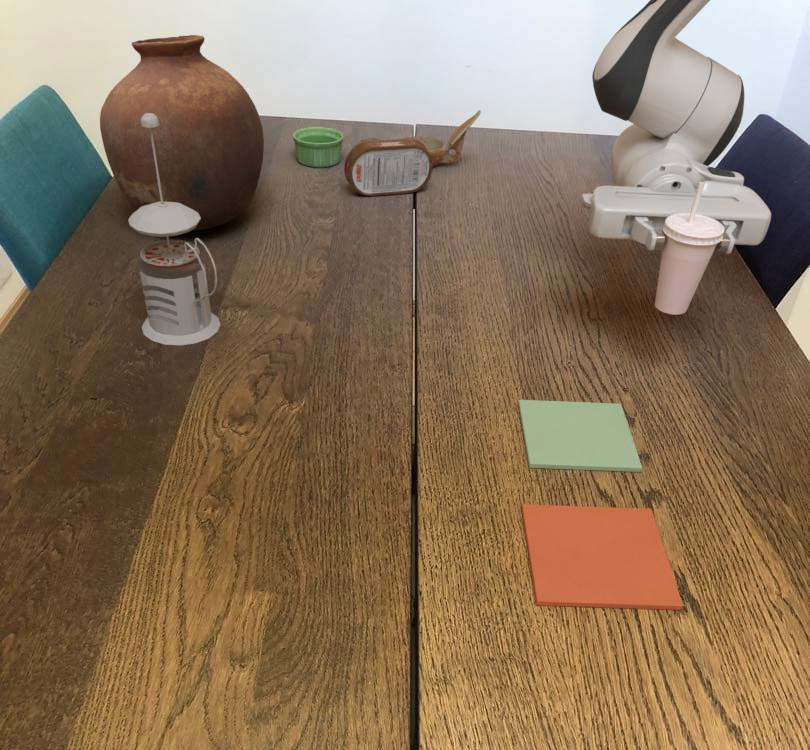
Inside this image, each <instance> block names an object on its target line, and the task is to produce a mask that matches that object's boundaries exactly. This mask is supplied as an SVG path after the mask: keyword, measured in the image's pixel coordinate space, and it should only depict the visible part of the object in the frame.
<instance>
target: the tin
mask: <svg viewBox="0 0 810 750" xmlns="http://www.w3.org/2000/svg"><path fill="white" fill-rule="evenodd" d="M343 165H344V167H343V171H344V176H345V179H346V181H347V182H348V184H349V185H350V186H351V188H352V189H353V190H355V192H357V193H358V194H360V195H362V196H366V197H377V196H390V195H404V194H414V193H417V192H418V191H420V190H422V189H423V188H424V187H425V186H426V185H427V184H428V182H429V181H430V180H431V177H432V174H433V169H434V166H433V161H432V157H431V155H430V153H429V152H428V150H427V148H426V147H425V145H424V144H423V143H421V142H420V141H418V140H416V139H403V138H394V139H384V140H368V141H363V142H359V143H357V144H356V145H354V146H353V147H352V148H351V150H349V152H348V153H347V156H346V157H345V160H344V164H343Z"/></svg>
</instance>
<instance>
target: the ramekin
mask: <svg viewBox="0 0 810 750" xmlns="http://www.w3.org/2000/svg"><path fill="white" fill-rule="evenodd" d="M292 139H293V141H294V148H295V156H296V160H297V161H298V163H300V165H303V166H306V167H309V168H318V169H319V168H330V167H334V166H336V165H338V164H339V163H340V162H341V159H342V146H343V141H344V134H343V133H342V132H341V131H339V130H338V129H335V128H331V127H325V126H307V127H302V128H298V129H297V130H295V131H294V132H293V133H292Z"/></svg>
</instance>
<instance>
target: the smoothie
mask: <svg viewBox="0 0 810 750" xmlns="http://www.w3.org/2000/svg"><path fill="white" fill-rule="evenodd" d="M703 187H704V183H703V182H699V184H698V188H697V191H696V195H695V198H694V202H693V205H692V209H691V212H690V213H678V214H673V215H670V216H669V217H667V218H666V220H665V224H664V226H663V232H664V233H665V237H666V238H665V243H663V250H662V251H661V257H660V264H659V270H658V271H659V272H658V279H657V285H656V292H655V300H654V307H655V308H656V309H657V310H658V311H659V312H662V313H665V314H667V315H675V316H676V315H682V314H685V313H686V312H687V311H688V309H689V306H690V304H691V302H692V299H693V297H694V295H695V293H696V291H697V289H698V286H699V285H700V282H701V280H702V278H703V276H704V273H705V272H706V269H707V266H708V264H709V263H710V261H711V258H712V256H713V254H714V252H715V250H714V249H715V247H716V245H717V243H719V242H720V241H722V238H723V233H724V227H723V225H722V224H721V223H719V222H718V221H716V220H715V219H712V218H710V217H707V216H703V215H699V214H696V211H697V207H698V204H699V200H700V197H701V194H702V190H703Z"/></svg>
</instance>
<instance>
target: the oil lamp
mask: <svg viewBox="0 0 810 750" xmlns="http://www.w3.org/2000/svg"><path fill="white" fill-rule="evenodd" d="M481 113H482V112H481V110H480V109H479V110H478V111H477V112H476V113H475V114H474V115H472V116H471V117H470V118H468V119H467V120H465V121H464V122H463V123H461V124H460V125H459V127H456V129H455V130H454V132H452V134H451V136H450V137H449V138H448V139H447V140H446V141H445V142H444V141H443V140H441V139H438V138H436V137H432V136H431V137H430V136H423V135H417V136H416V135H413V136H403V138H402V139H416V140H418V141H420V142H421V143H423V144H424V145H425V147H426V148H427V150H428V152H429V153H430V155H431V157H432V161H433V167H436V166H437V165H439V164H443V163H444V164H445V163H446V164H451V163H455V162H457V161H458V160H459V158H460V156H461V154H462V151H463V147H464V143H465V137H466V134H467V131H468V129H470V127H472V125H474V123H475V122H476V120H477V119H478V118H479V117H480V116H481ZM368 140H385V139H384V138H376V137H368V138H364V139H361V140H360V142H359V143H361V142H363V141H368ZM451 150H453V151H455V152H454V153H455V154H454V155H451V154H450V151H451Z"/></svg>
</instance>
